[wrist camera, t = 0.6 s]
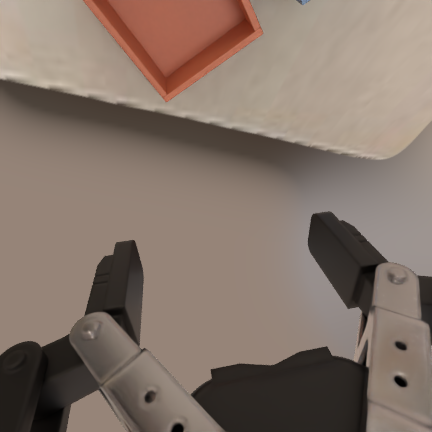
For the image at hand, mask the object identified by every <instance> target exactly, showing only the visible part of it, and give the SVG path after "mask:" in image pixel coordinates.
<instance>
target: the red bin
mask: <svg viewBox="0 0 432 432" xmlns="http://www.w3.org/2000/svg"><path fill="white" fill-rule="evenodd" d="M83 1H84V2H85V3H86V5H87V6H88V7H89V8H90V10H91V11H92V12H93V13H94V14H95V16H96V17H97V18H98V19H99V21H100V22H101V23H102V24H103V25H104V27H105V28H106V29H107V30H108V32H109V33H110V34H111V35H112V36H113V38H114V39H115V40H116V41H117V43H118V44H119V45H120V46H121V47H122V49H123V50H124V51H125V52H126V54H127V55H128V56H129V57H130V58H131V60H132V61H133V62H134V63H135V65H136V66H137V67H138V68H139V69H140V71H141V72H142V73H143V74H144V76H145V77H146V78H147V79H148V80H149V82H150V83H151V84H152V85H153V87H154V88H155V89H156V90H157V91H158V93H159V94H160V95H161V96H162V98H163V99H164V100H165V101H166V102H168V101H169V100H171V99H172V98H173V97H175V96H176V95H178V94H179V93H180V92H182V91H183V90H185V89H186V88H187V87H189V86H190V85H192V84H193V83H194V82H196V81H197V80H199V79H200V78H201V77H203V76H204V75H206V74H207V73H208V72H210V71H211V70H213V69H214V68H216V67H217V66H218V65H220V64H221V63H223V62H224V61H225V60H227V59H228V58H230V57H231V56H232V55H234V54H235V53H237V52H238V51H239V50H241V49H242V48H244V47H245V46H246V45H248V44H249V43H251V42H252V41H254V40H255V39H256V38H258V37H259V36H261V35H262V34H263V31H262V29H261V27H260V24H259V22H258V20H257V17H256V15H255V12H254V10H253V8H252V5H251V3H250V1H249V0H83Z"/></svg>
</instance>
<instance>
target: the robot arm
mask: <svg viewBox="0 0 432 432" xmlns="http://www.w3.org/2000/svg"><path fill="white" fill-rule="evenodd" d="M308 247H309V250H310V253H311V254H312V256H313V257H314V258H315V260H316V262H317V263H318V265H319V266H320V268H321V269H322V271H323V272H324V274H325V275H326V276H327V278H328V279H329V281H330V283H331V284H332V285H333V287H334V289H335V290H336V291H337V293H338V294H339V296H340V297H341V299H342V300H343V302H344V303H345V305H346V306H347V308H348V309H350V308H355V307H359V308H360V309H361V311H362V312H361V315H360V320H359V327H358V335H357V342H356V349H355V355H354V360H353V361H352V360H350V359H346V358H343V357H338V356H332V355H331V353H330V351H329V349H328V347H322V348H317V349H312V350H306V351H301V352H299V353H296V354H295V355H292V356H291V357H289V358H287V359H285V360H283V361H281V362H279V363H277V364H275V365H271V366H270V365H254V364H236V365H231V366H226V367H221V368H216V369H211V374H212V379H211V380H209V381H207V382H205V383H204V384H202V385H201V386H199V387H198V388H197V389H196V390H195V391H194V392H193V393H192V394H191V395H190V394H189V393H188V392H187V391H186V390H185V389H184V388H183V387H182V385H180V384H179V382H178V381H177V380H176V379H175V378H174V377H173V376H172V375H171V374H170V373H169V372H168V371H167V369H166V368H165V367H164V366H163V365H162V364H161V363H160V362H159V361H158V360H157V359H156V358H155V357H154V356H153V355H152V354H151V352H149V351H148V350H147V349H145V348H144V349H141V348H140V347H139V345H140V328H141V312H142V297H143V296H142V295H143V281H144V280H143V279H144V278H143V268H142V264H141V261H140V257H139V253H138V250H137V246H136V243H135V241H134V240H130V241H124V242H117V243H116V244H115V249H114V254H113V255H109V256H105V257H104V258H103V259H102V260H101V262H100V263H99V264H98V266H97V269H96V273H95V277H94V281H93V285H92V289H91V293H90V297H89V300H88V304H87V308H86V312H85V315H84V317H82V318H81V319H80V320H78V321H77V323H76V324H75V325H74V326H73V328H72V329H71V331H70V334H68V335H67V336H65V337H63V338H61V339H59V340H57V341H55V342H52V343H50V344H48V345H46V346H43V347H40V345H39V344H38V343H36V342H33V341H27V342H22V343H19V344H16V345H14V346H12V347H11V348H9V349H8V350H6V351H5V352H4V353H3V354H1V355H0V432H66V429H67V424H68V418H69V413H70V407H71V404H72V403H73V402H76V401H78V400H79V399H81V398H83V397H85V396H87V395H89V394H91V393H92V392H94V391H96V390H99V392H100V393H101V394H102V396H103V398H104V399H105V400H106V402H107V403H108V405H109V406H110V407H111V409H112V411H113V412H114V413H115V415H116V417H117V418H118V419H119V421H120V422H121V424H122V425H123V427H124V428H125V430H126V431H127V432H432V352H431V345H432V277H428V276H417V275H416V274H415V273H414V272H413V271H412V270H411V269H409V268H407V267H405V266H403V265H400V264H397V263H391V262H388V261H387V260H386V259H385V258H384V257H383V256H382V255H381V254H380V253H379V252H378V251H377V250H376V249H375V248H374V247H373V246H372V245H371V244H370V243H369V242H368V241H367V240H366V238H365V237H364V236H362V235H361V233H360V232H359V231H357V229H356V228H355V227H354V226H352V225H350V224H349V223H347V222H345V221H343V220H342V221H339V220H338V218H337V217H336V216H335V215H334V214H333V213H332V212H322V213H316V214H313V215H312V217H311V224H310V230H309V237H308Z"/></svg>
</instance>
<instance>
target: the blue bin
mask: <svg viewBox="0 0 432 432" xmlns="http://www.w3.org/2000/svg"><path fill="white" fill-rule="evenodd" d="M297 1H298V2H299V3H300V4H302V5H304V4H305V3H307V2H308V1H310V0H297Z"/></svg>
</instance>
